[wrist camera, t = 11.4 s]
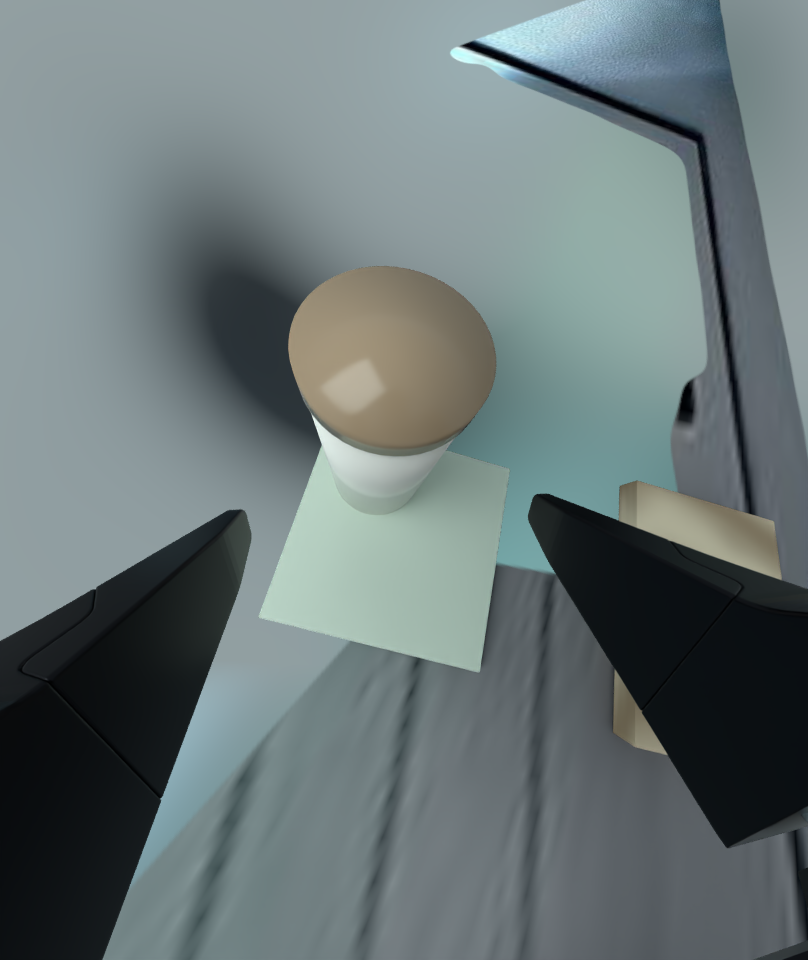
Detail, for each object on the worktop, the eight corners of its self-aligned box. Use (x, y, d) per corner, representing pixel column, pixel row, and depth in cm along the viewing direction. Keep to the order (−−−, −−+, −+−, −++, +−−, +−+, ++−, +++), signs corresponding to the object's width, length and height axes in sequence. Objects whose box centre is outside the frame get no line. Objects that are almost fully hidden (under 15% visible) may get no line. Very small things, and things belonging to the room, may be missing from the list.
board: (775, 772, 18) (810, 789, 17) (613, 732, 18) (634, 746, 16) (748, 524, 23) (773, 521, 22) (619, 485, 23) (636, 480, 21)
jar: (436, 489, 20) (534, 389, 8) (359, 533, 18) (353, 482, 7) (392, 419, 21) (429, 245, 10) (317, 456, 19) (252, 301, 8)
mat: (475, 669, 18) (479, 672, 17) (261, 615, 17) (258, 617, 16) (506, 471, 22) (509, 469, 21) (333, 421, 21) (332, 417, 20)
